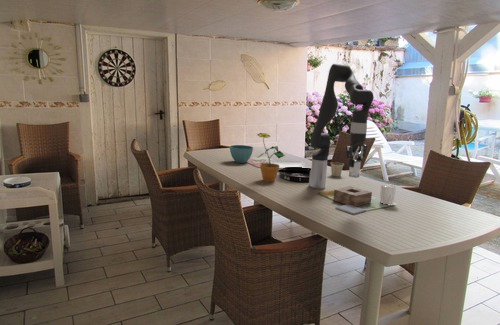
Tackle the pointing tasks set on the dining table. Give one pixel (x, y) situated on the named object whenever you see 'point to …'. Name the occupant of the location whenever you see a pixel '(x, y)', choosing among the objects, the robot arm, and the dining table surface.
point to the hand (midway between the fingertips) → (354, 166)
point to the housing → (352, 196)
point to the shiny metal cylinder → (355, 169)
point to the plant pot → (241, 153)
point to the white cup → (387, 193)
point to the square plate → (288, 163)
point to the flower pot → (336, 168)
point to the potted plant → (269, 169)
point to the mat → (350, 209)
